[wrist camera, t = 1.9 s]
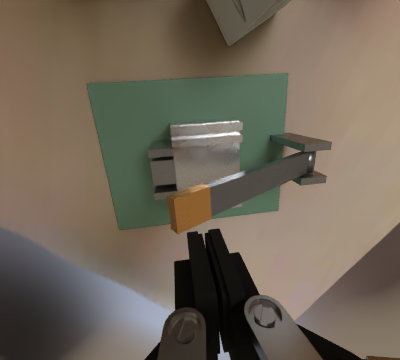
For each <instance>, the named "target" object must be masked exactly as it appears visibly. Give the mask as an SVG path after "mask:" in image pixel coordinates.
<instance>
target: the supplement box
mask: <svg viewBox="0 0 400 360" xmlns="http://www.w3.org/2000/svg"><path fill="white" fill-rule="evenodd" d="M290 1H291V0H206V2H207V3H208V5H209V7H210V9H211V11H212V13H213V15H214V17H215V19H216V22H217V24H218V26H219V28H220V30H221V32H222V34H223V36H224V39H225V41H226V43H227V45H228V47H229V46H231V45H232V44H233V43H235V42H236V41H238V40H239V39H240V38H242V37H243V36H245V35H246V34H247V33H249V32H250V31H252V30H253V29H254V28H256V27H257V26H259V25H260V24H261V23H263V22H264V21H266V20H267V19H268V18H270V17H271V16H272V15H274V14H275V13H276V12H278V11H279V10H280V9H282V8H283V7H284V6H285V5H286V4H287V3H289V2H290Z"/></svg>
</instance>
